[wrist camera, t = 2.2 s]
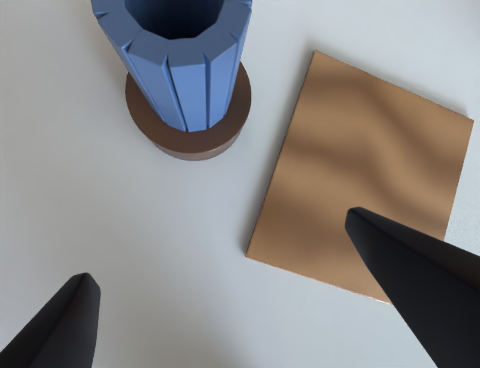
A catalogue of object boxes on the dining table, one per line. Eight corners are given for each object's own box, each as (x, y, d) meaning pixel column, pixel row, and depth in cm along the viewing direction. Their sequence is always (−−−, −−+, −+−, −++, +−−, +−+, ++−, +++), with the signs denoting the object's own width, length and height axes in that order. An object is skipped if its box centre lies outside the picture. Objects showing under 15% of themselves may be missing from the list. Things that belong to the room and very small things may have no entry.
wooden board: (420, 313, 22) (424, 315, 22) (244, 255, 20) (245, 257, 20) (470, 121, 24) (474, 120, 24) (313, 52, 22) (315, 49, 22)
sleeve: (214, 143, 17) (221, 91, 9) (136, 113, 16) (62, 27, 8) (241, 72, 18) (271, -42, 9) (166, 40, 17) (125, -112, 9)
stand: (224, 175, 21) (235, 162, 13) (123, 138, 20) (65, 99, 12) (257, 83, 21) (287, 17, 14) (162, 43, 20) (133, -54, 13)
